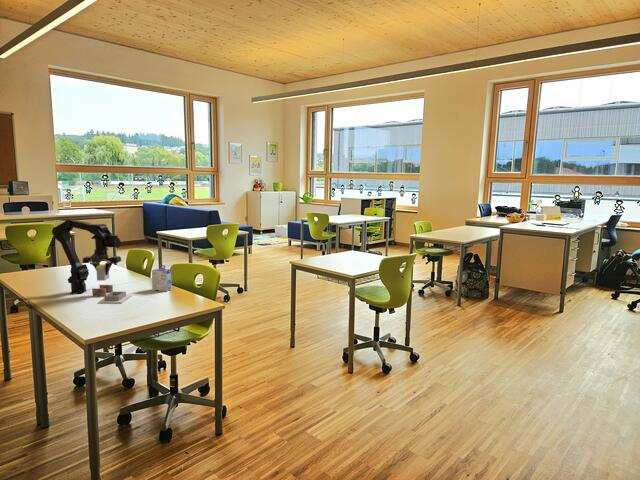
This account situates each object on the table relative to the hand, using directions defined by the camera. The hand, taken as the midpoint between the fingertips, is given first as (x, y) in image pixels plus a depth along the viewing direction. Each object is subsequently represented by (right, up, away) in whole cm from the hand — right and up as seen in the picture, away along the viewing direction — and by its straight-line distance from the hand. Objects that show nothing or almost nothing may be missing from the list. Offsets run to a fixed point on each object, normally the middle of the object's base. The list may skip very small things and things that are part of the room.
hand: (103, 274), depth 245 cm
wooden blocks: (-1, -11, +2) cm, 11 cm away
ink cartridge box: (+29, -10, +12) cm, 33 cm away
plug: (0, -3, 0) cm, 2 cm away
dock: (+11, -13, -9) cm, 19 cm away
